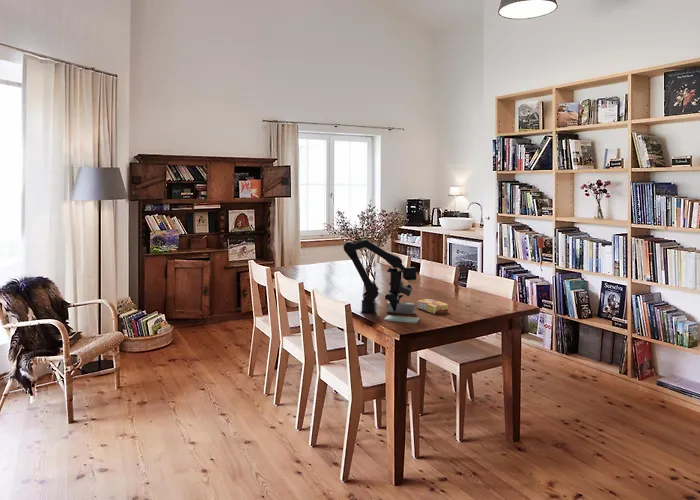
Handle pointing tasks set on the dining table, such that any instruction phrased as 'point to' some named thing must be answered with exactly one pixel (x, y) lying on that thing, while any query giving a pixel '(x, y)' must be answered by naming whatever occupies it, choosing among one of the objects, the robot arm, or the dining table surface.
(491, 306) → the dining table surface
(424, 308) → the candy box
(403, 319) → the pad
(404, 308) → the bar
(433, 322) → the dining table surface
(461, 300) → the dining table surface
